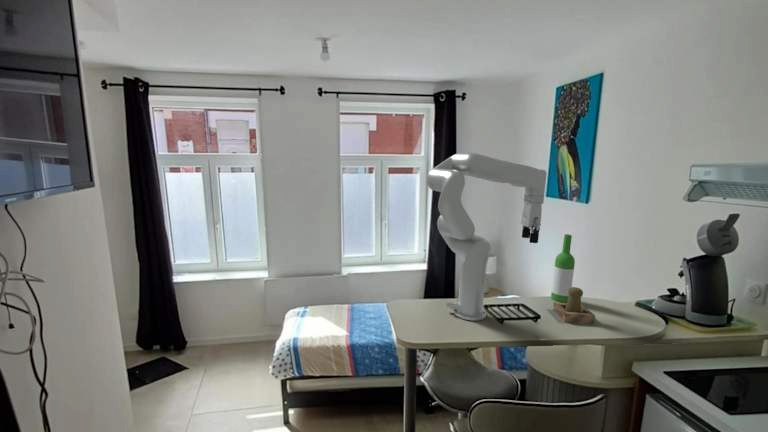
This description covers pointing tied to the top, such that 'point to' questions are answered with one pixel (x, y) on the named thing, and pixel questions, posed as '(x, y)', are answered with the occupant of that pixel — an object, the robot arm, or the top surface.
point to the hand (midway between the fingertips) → (529, 240)
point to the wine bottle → (563, 272)
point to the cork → (574, 300)
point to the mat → (561, 319)
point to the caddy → (574, 314)
